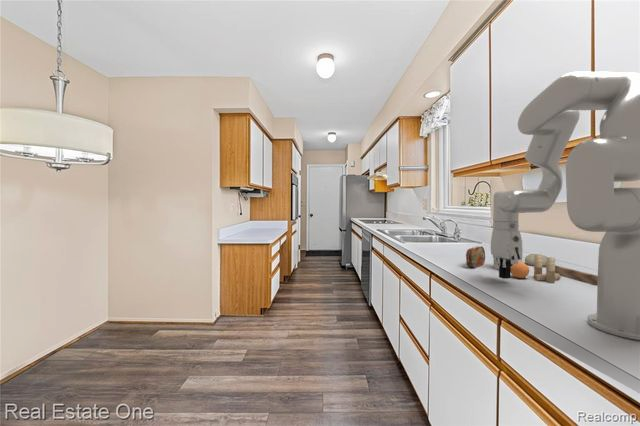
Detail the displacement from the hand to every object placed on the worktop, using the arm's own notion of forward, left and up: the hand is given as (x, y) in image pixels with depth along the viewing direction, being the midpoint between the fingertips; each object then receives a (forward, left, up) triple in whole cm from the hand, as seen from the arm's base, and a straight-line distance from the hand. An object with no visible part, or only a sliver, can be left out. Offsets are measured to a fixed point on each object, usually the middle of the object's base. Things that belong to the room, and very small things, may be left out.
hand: (504, 277), depth 103 cm
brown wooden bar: (0, -27, -2) cm, 28 cm away
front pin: (0, -12, 0) cm, 12 cm away
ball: (+4, -9, +2) cm, 10 cm away
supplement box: (+16, -14, -2) cm, 21 cm away
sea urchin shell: (+22, -33, -2) cm, 40 cm away
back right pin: (-2, -15, -2) cm, 16 cm away
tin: (+25, -6, -2) cm, 25 cm away
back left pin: (+2, -15, -2) cm, 16 cm away
